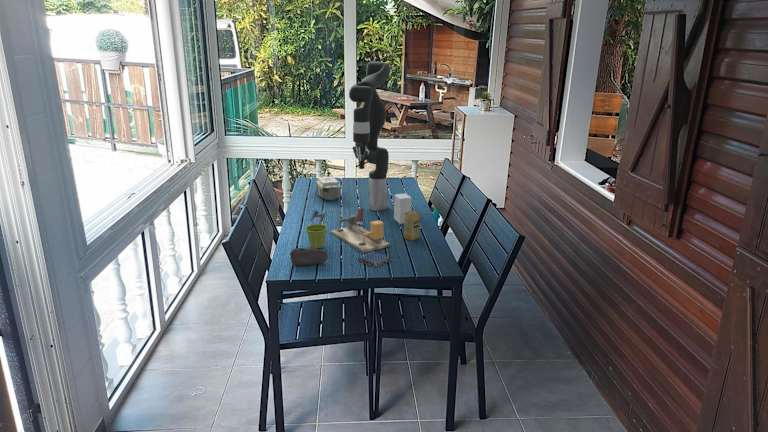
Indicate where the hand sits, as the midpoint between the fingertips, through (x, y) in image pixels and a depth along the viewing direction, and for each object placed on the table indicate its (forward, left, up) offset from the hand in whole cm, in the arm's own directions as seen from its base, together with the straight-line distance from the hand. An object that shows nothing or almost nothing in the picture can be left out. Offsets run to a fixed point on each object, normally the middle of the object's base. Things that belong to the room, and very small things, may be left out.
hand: (361, 168), depth 237 cm
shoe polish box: (-12, +24, -29) cm, 40 cm away
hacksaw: (+12, -20, -30) cm, 38 cm away
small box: (-22, +3, -29) cm, 37 cm away
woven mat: (+16, +36, -30) cm, 49 cm away
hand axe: (-4, -14, -30) cm, 33 cm away
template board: (+9, +13, -29) cm, 33 cm away
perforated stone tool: (+40, +25, -29) cm, 56 cm away
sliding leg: (+8, +22, -26) cm, 36 cm away
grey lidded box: (-11, -55, -29) cm, 63 cm away
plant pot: (+29, +10, -29) cm, 42 cm away
